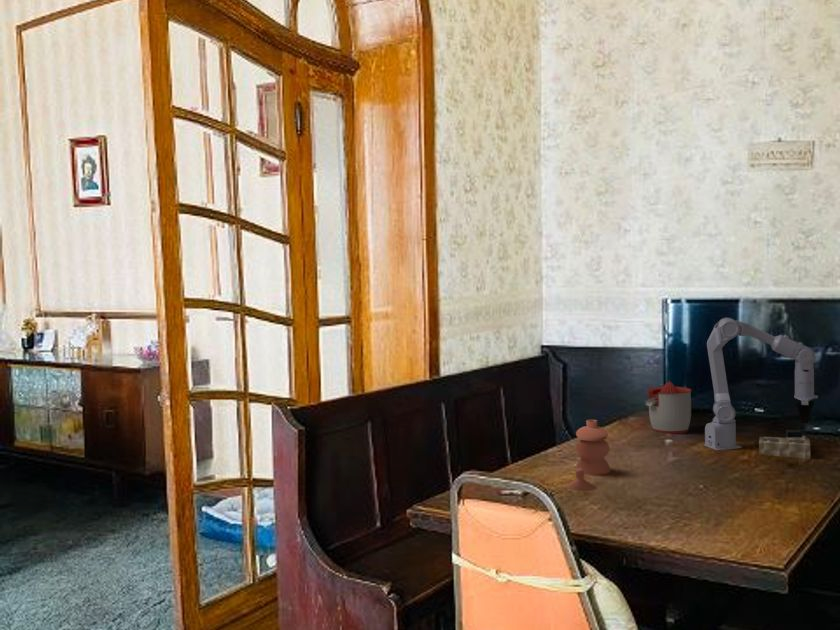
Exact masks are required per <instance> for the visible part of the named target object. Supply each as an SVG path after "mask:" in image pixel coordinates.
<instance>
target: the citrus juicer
mask: <svg viewBox="0 0 840 630" xmlns="http://www.w3.org/2000/svg"><path fill="white" fill-rule="evenodd" d="M647 391H648V393H647V394H648V395H647V396H648V397H647V398H648V399H647V400H646V401H645V405H646V406H648V414H649V421H650V425H651V429H652V431H654V432H655V433H660V434H670V435H673V434H674V435H681V434H686V433H688V431H689V427H690V423H691V417H692V396H691V395H692V393H691V392H692V389H691V388H689V387H683V386H676V385H674V383H673V382H671V381H668V382H666V383H665V384H664V385H663V386H655V387H650V388H648V389H647Z"/></svg>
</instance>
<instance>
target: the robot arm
mask: <svg viewBox="0 0 840 630" xmlns="http://www.w3.org/2000/svg"><path fill="white" fill-rule="evenodd" d="M738 336H739V337H745V336H749V337H752V338H754V339H755V340H758V341H760V342H763V343H765V344H768V345H770V347H771V350H772V351H774V352H775V353H778V354H780V355H782V356H785V357H786V358H789V359H793V360H794V395H793V397H794V398H795V401H794V404H795V406H796V408H797V410H798V415H799V421H800V423H801V424H809V422H810V417H811V412H812V409H813V407H814V405H815V402H814V399H818V398H819V396H818V395H816V394H815V372H814V371H815V369H814V362H815V361H816V359H817V356H816V353H815V351H814V350H813V349H812V348H811V347H808V346H806V345H805V344H804V343H803V342H800V341H799V342H797V341H795V340H793V339H791V338H790V336H788V335H786V334H784V335H782V334H779V335H776V336H774V335H772V334H770V333H768V332H766V331H764V330H763V329H762V330H761V329H760V328H757V327H756V326H753V325H751V324H749V323H747V322H743V321H741V320H738V319H737V320H735V319H733V318H731V317H723V318H721V319H720V320H719V321H718V322H717V323H715V324H714V326H713V329H712V331H711V333H710V335H709V337H708V339H707V342H706V348H707V355H708V362H709V367H710V373H711V374H710V375H711V381H712V387H713V395H714V396H713V397H714V398H713V399H714V403H713V406H712V411H713V413H714V415H715V416H714V417H713V418H712V421H711V422H709V423H706V425H705V427H704V444H703V446H705V447H708V448H710V449H713V450H715V451H725V450H726V451H728V450H737V449H742V445H741V446H740V445H738V444H737V443H736V442H737V439H736V438H737V433H736V431H737V430H736V427H737V426H736V419H735V417H736V409H735V408H734V407H733V406H732V402H731V397H730V392H729V387H728V380H727V373H726V367H725V360H724V353H723V352H724V351H723V347H724V346H725V345H726V344H728V342H729V341H730V340H733V339H734V338H735V337H738ZM796 399H797V400H796Z"/></svg>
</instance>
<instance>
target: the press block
mask: <svg viewBox="0 0 840 630" xmlns="http://www.w3.org/2000/svg"><path fill="white" fill-rule="evenodd" d="M765 439H777V440H778V442H771V441H765ZM791 440H800V441H804V443H790V441H791ZM810 440H811V439H809V438H808V439H798V438H786V437H779V436H778V437H776V436H759V441H758V450H759V451H758V455H761V454H764V455H763V456H771V455H773V456H772V457H774V456H775V457H783V458H785V457H786V458H794V459H795V458H796V459H805V460H806V459H807V460H810V459H811V442H810Z"/></svg>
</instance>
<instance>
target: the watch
mask: <svg viewBox="0 0 840 630" xmlns="http://www.w3.org/2000/svg"><path fill="white" fill-rule="evenodd" d="M785 438H798V439H809V438H808V437H806V436H805V435H802V430H801V429H786V437H785Z"/></svg>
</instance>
